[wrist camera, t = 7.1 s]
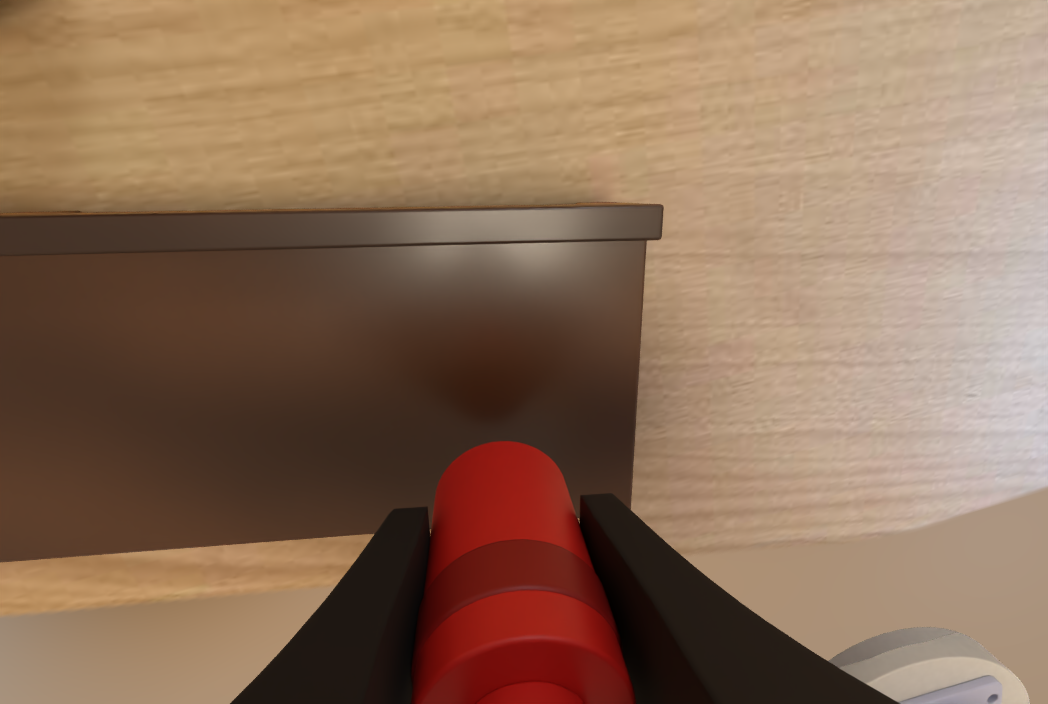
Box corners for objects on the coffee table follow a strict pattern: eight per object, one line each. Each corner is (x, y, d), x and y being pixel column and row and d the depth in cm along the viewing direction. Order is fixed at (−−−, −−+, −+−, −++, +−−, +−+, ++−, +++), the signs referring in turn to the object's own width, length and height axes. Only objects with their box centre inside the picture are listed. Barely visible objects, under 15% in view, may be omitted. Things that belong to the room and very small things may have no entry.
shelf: (602, 457, 18) (642, 536, 14) (-414, 523, 15) (-757, 650, 11) (611, 201, 16) (664, 204, 11) (-622, 222, 13) (-1185, 236, 8)
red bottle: (581, 533, 11) (699, 894, 5) (456, 570, 11) (441, 974, 5) (550, 421, 10) (654, 709, 4) (413, 460, 10) (340, 803, 4)
